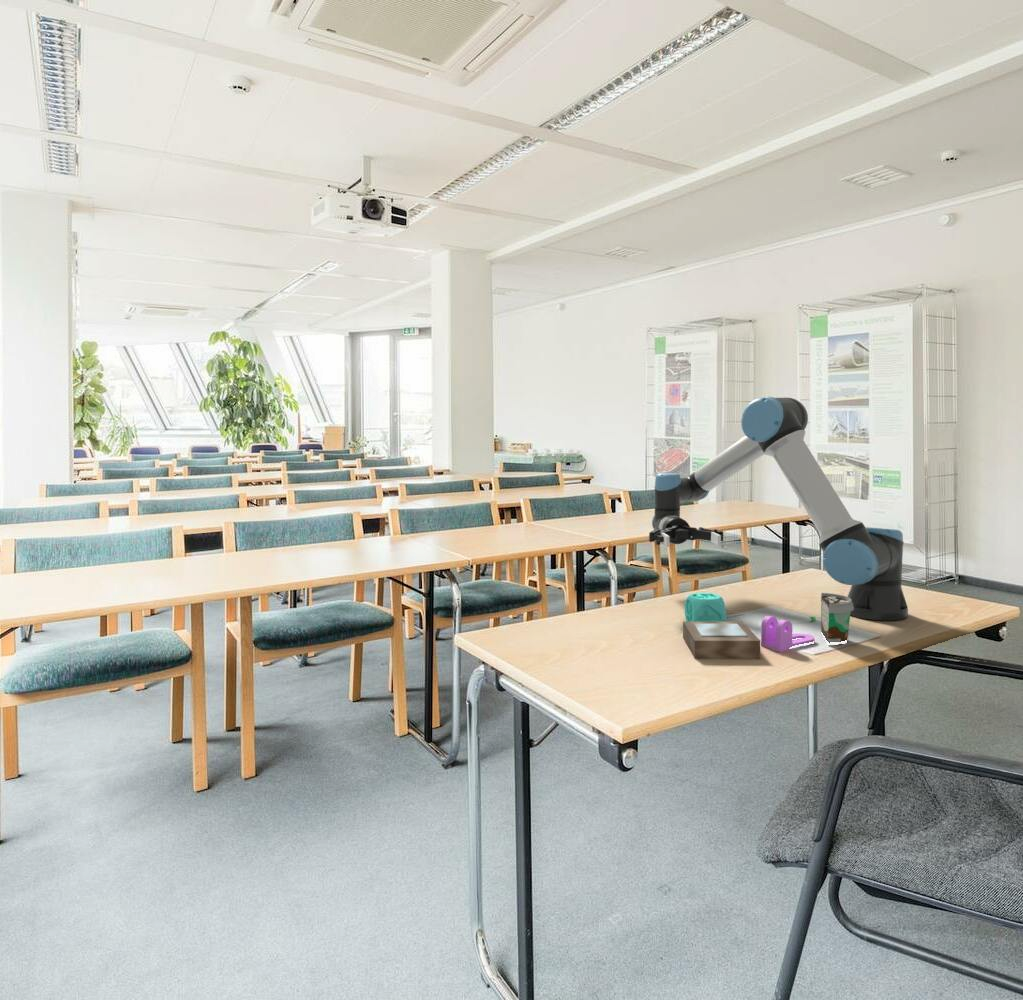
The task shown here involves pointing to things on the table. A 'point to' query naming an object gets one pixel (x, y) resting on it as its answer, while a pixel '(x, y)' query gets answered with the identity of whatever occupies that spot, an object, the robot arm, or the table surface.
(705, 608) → the decorative dice
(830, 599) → the food container
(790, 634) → the bracket
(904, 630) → the table surface
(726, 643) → the plinth
